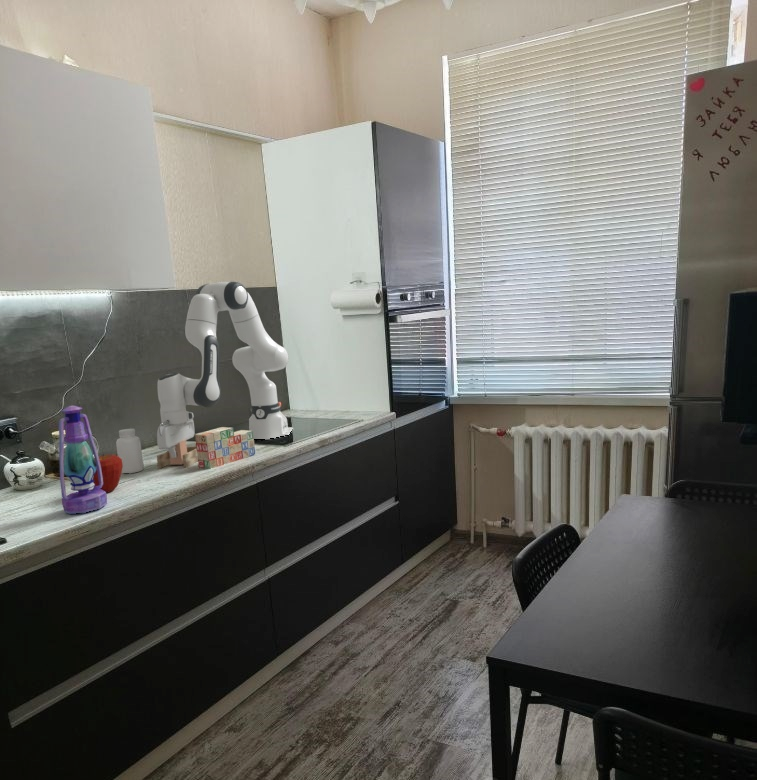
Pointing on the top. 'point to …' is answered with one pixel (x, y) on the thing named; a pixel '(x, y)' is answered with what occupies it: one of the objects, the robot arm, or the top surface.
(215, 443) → the stack of blocks
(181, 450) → the terracotta block
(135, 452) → the pill bottle
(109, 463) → the apple
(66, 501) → the lantern
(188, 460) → the oak u-shaped frame
